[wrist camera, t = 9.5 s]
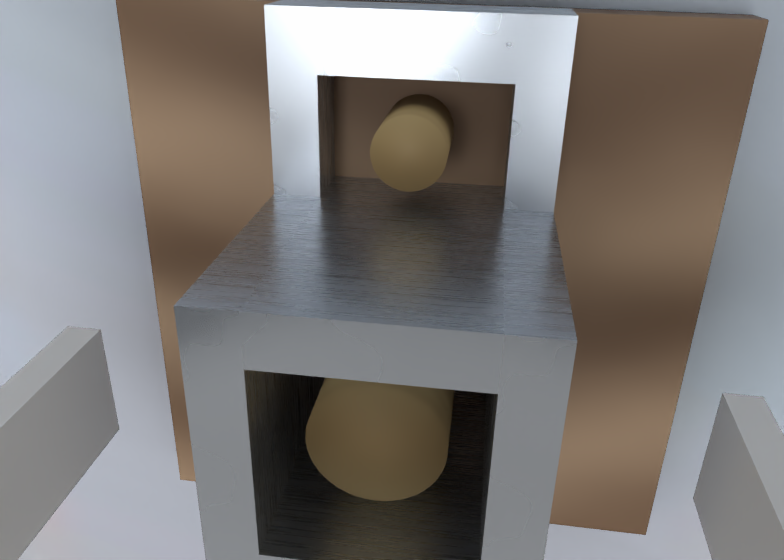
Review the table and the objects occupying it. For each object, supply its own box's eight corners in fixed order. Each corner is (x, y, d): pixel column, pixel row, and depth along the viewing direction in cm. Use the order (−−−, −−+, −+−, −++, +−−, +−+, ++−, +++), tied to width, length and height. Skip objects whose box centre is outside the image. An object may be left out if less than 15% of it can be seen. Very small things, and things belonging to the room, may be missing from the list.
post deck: (136, -8, 19) (-77, 23, 12) (752, 15, 18) (923, 67, 10) (193, 457, 26) (78, 650, 19) (639, 508, 25) (695, 742, 17)
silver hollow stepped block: (285, -2, 18) (139, 39, 11) (571, 8, 17) (621, 59, 10) (305, 492, 25) (225, 718, 18) (509, 516, 24) (512, 762, 17)
